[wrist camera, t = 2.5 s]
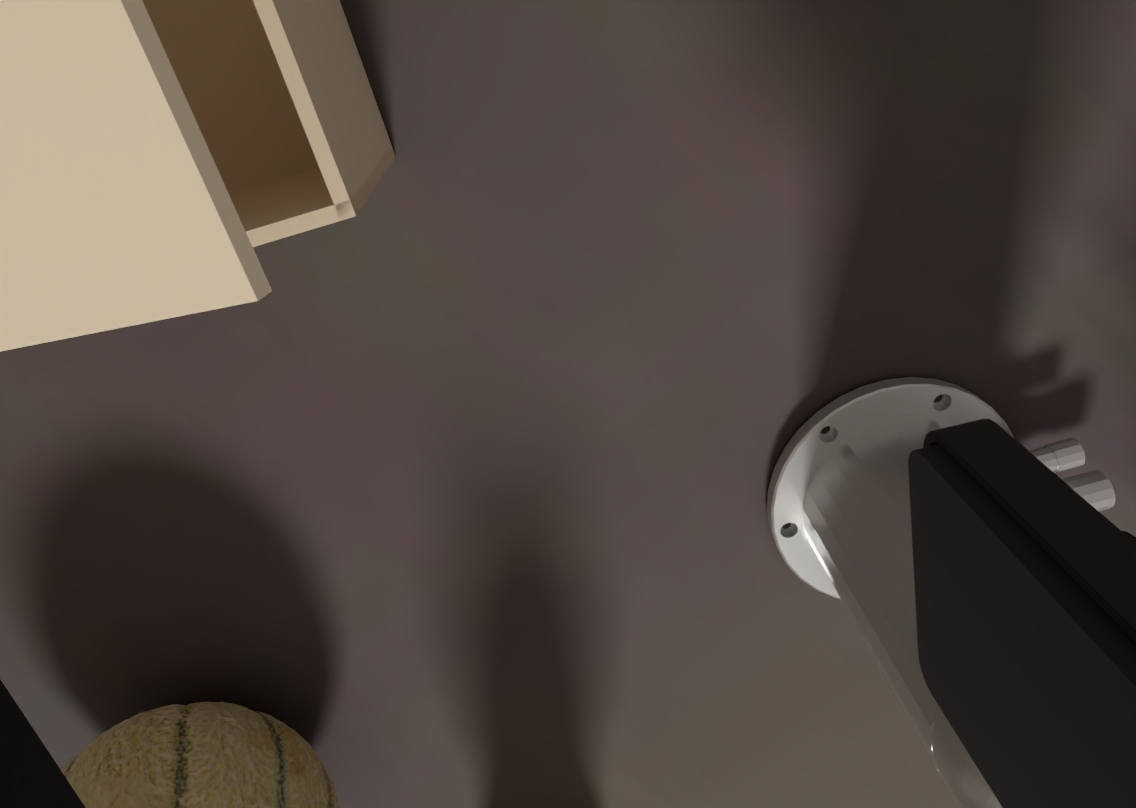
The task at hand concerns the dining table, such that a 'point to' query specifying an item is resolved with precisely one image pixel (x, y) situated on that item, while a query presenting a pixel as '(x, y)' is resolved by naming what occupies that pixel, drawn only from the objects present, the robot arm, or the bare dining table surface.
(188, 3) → the carton
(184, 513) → the dining table surface
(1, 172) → the carton lid
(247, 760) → the cantaloupe
